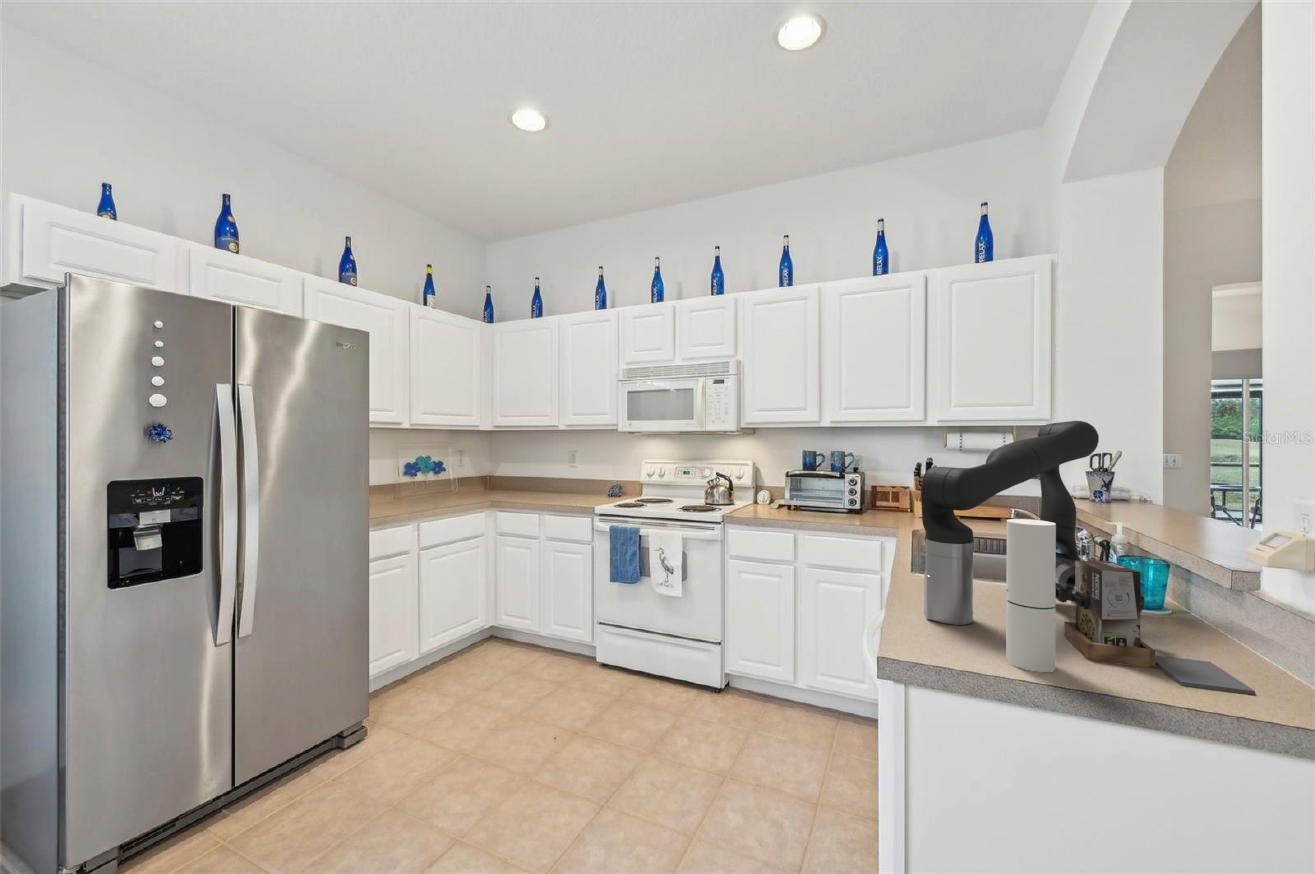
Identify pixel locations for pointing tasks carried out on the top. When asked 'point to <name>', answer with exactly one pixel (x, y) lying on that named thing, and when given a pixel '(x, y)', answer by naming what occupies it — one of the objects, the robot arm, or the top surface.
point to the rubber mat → (1200, 674)
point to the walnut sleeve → (1110, 650)
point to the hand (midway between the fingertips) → (1111, 606)
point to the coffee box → (1109, 602)
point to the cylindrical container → (1031, 594)
